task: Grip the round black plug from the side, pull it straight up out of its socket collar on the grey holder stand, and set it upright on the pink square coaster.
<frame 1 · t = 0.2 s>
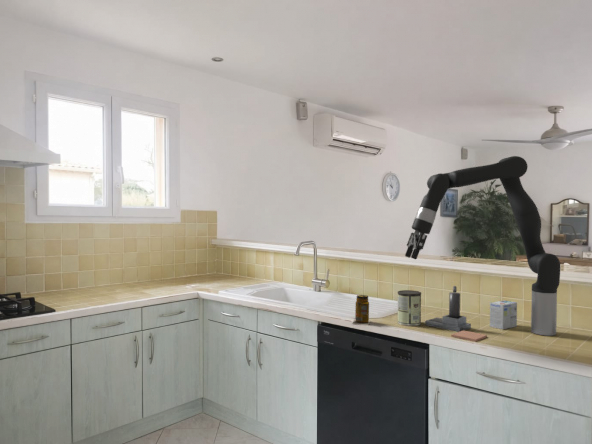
hand: (410, 257, 186), 31 cm above the countertop, tool tilted 20°, fingers open, 8 cm apart
grey holder stand: (447, 326, 199), on the countertop
light bulb box: (503, 327, 200), on the countertop
condiment: (361, 323, 205), on the countertop
pink square coaster: (469, 336, 182), on the countertop
plug: (454, 323, 197), point 2 cm above the countertop, touching grey holder stand
coffee can: (408, 323, 205), on the countertop
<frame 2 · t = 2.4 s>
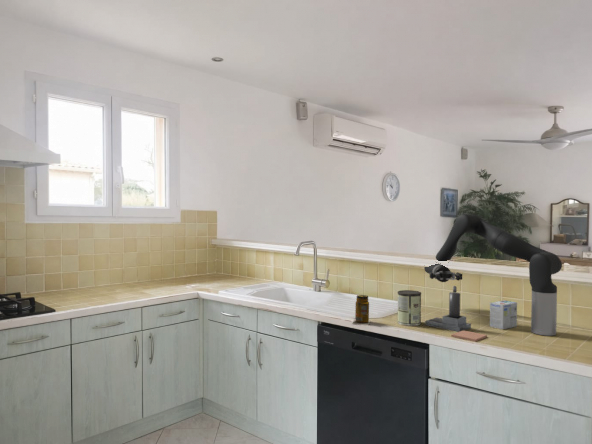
hand: (448, 277, 207), 20 cm above the countertop, tool horizontal, fingers open, 8 cm apart
nothing on the countertop moved.
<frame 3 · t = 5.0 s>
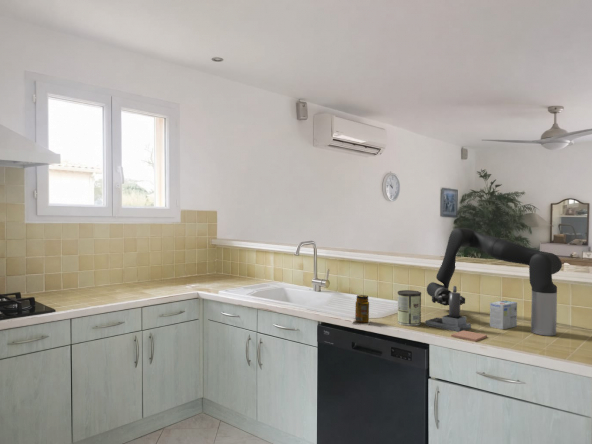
hand: (451, 302, 203), 10 cm above the countertop, tool horizontal, fingers open, 8 cm apart
nothing on the countertop moved.
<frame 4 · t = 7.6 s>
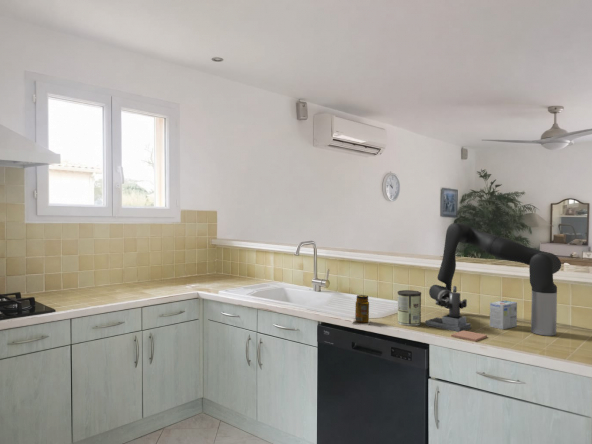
hand: (456, 306, 194), 10 cm above the countertop, tool horizontal, fingers closed on plug, 4 cm apart
plug: (454, 323, 197), point 2 cm above the countertop, touching gripper, grey holder stand
everything else where it was.
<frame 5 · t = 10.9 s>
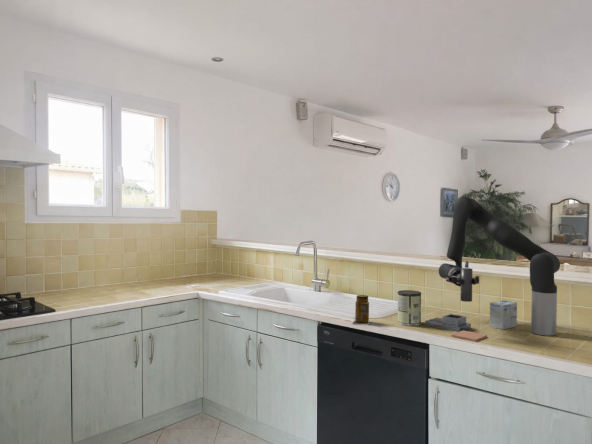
hand: (468, 281, 182), 22 cm above the countertop, tool horizontal, fingers closed on plug, 4 cm apart
plug: (466, 300, 185), point 14 cm above the countertop, touching gripper
everything else where it was.
when the fingers open (10 cm above the countertop, at t = 14.3 s): plug drops 1 cm, resting on pink square coaster.
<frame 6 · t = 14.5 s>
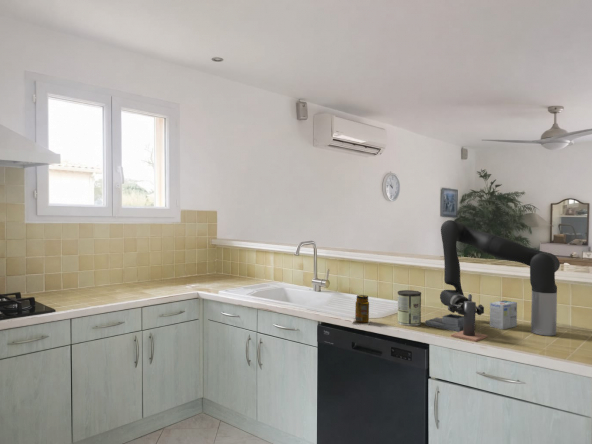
hand: (471, 312, 180), 10 cm above the countertop, tool horizontal, fingers open, 6 cm apart
plug: (469, 334, 182), point 1 cm above the countertop, touching pink square coaster
everything else where it was.
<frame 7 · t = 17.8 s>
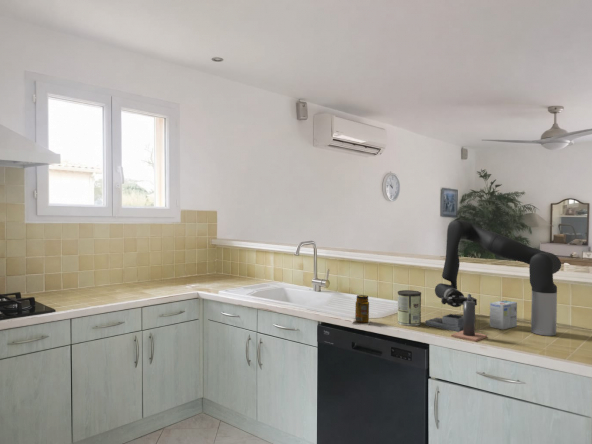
hand: (462, 303, 193), 11 cm above the countertop, tool horizontal, fingers open, 8 cm apart
nothing on the countertop moved.
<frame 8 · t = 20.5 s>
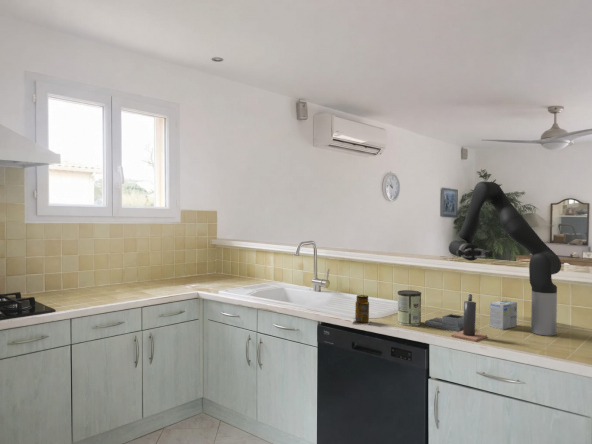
hand: (478, 254, 193), 32 cm above the countertop, tool horizontal, fingers open, 8 cm apart
nothing on the countertop moved.
at the end: plug inside the target area on the pink square coaster (0.1 cm from its centre), point 0.8 cm above the pink square coaster's base; plug tilted 1°; the gripper is holding nothing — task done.
